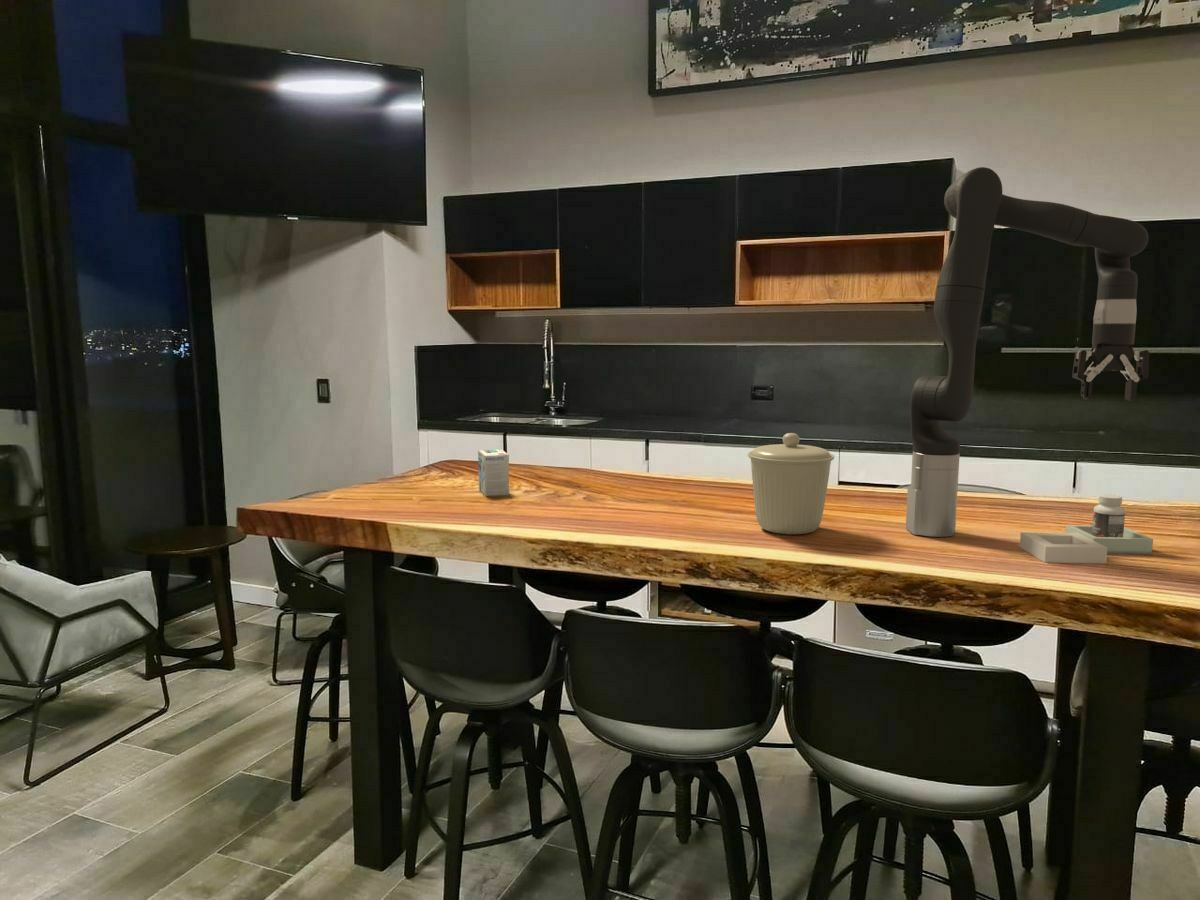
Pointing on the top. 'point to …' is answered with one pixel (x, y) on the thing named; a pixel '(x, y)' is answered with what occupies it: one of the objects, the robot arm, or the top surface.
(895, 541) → the top surface
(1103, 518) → the pill bottle
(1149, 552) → the parts tray
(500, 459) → the light bulb box
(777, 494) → the canister
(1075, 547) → the socket block
